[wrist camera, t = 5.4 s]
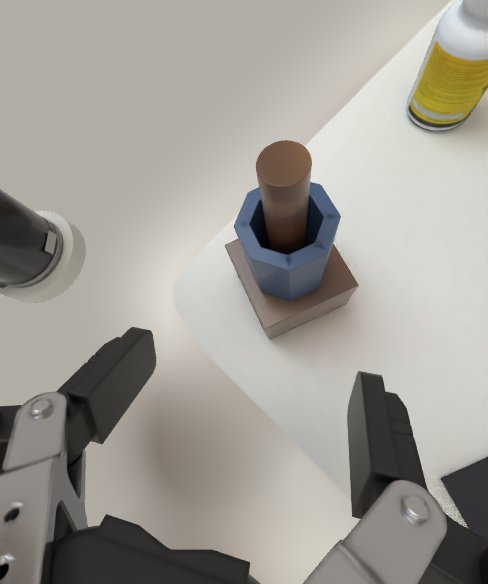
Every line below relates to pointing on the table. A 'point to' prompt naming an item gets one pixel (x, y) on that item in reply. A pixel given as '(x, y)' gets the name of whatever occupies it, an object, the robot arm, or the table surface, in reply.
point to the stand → (289, 241)
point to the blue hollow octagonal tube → (299, 265)
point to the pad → (471, 495)
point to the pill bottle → (452, 68)
